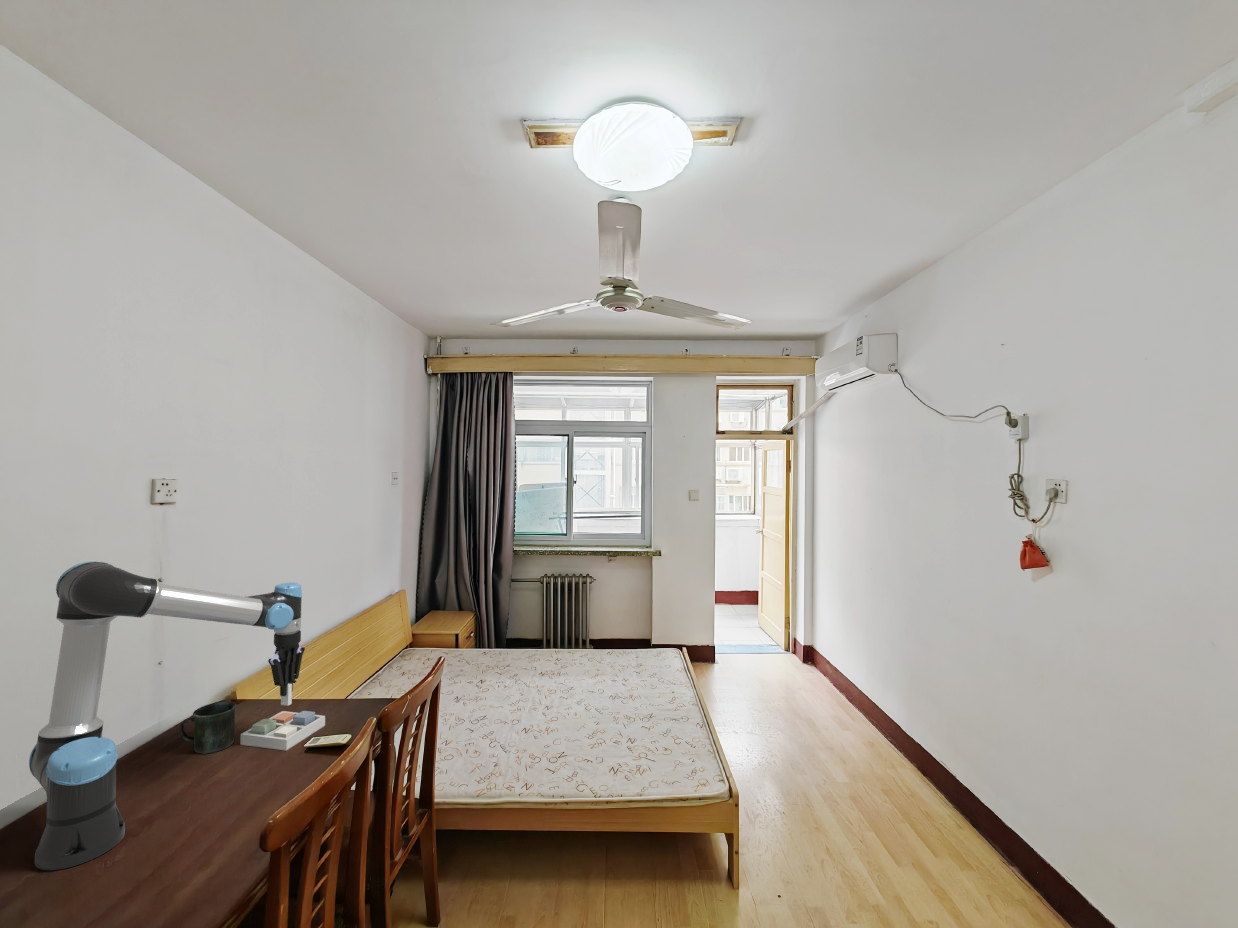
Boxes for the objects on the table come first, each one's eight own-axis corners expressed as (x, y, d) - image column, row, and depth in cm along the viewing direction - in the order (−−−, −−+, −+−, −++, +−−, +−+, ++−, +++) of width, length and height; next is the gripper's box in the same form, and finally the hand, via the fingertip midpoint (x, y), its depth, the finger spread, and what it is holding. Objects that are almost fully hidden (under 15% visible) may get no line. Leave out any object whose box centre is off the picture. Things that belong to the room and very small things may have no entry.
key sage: (264, 736, 178) (264, 726, 178) (252, 734, 178) (252, 724, 178) (275, 729, 182) (276, 719, 182) (263, 727, 183) (264, 718, 183)
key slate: (304, 727, 184) (304, 717, 184) (292, 725, 185) (292, 716, 185) (314, 720, 188) (315, 711, 188) (303, 719, 189) (303, 710, 189)
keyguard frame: (286, 750, 174) (286, 739, 174) (240, 744, 177) (240, 733, 177) (325, 725, 190) (325, 715, 190) (282, 720, 193) (282, 710, 193)
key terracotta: (283, 729, 185) (284, 719, 185) (272, 727, 186) (272, 718, 186) (294, 722, 190) (294, 713, 190) (282, 721, 191) (283, 712, 191)
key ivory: (285, 743, 176) (286, 733, 176) (273, 741, 177) (273, 732, 177) (296, 736, 181) (297, 727, 181) (284, 735, 181) (284, 725, 181)
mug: (232, 750, 173) (232, 712, 173) (174, 760, 167) (174, 720, 167) (239, 735, 183) (239, 698, 183) (184, 743, 177) (185, 706, 177)
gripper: (281, 638, 172) (280, 714, 172) (312, 626, 185) (311, 697, 185) (261, 636, 173) (259, 711, 173) (293, 625, 186) (291, 694, 186)
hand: (286, 704), depth 179 cm, fingers closed
